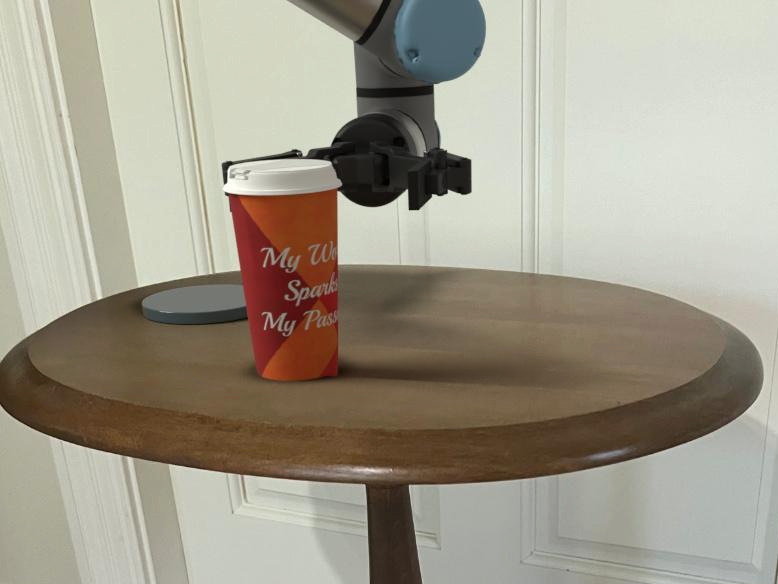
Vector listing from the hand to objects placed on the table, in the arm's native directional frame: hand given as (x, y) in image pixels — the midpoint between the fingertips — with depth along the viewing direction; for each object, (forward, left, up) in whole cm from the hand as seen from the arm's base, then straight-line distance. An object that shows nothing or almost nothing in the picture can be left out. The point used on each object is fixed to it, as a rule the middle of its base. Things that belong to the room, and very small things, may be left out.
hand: (321, 191), depth 79 cm
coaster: (-15, +8, -11) cm, 20 cm away
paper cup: (+1, -10, -11) cm, 15 cm away
